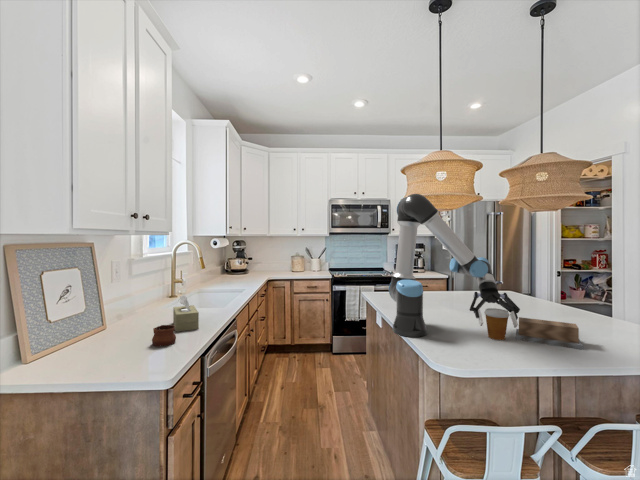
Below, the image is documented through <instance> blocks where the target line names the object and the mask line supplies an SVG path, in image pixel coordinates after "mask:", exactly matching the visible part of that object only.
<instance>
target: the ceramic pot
mask: <svg viewBox="0 0 640 480" xmlns="http://www.w3.org/2000/svg"><path fill="white" fill-rule="evenodd" d="M175 331H176V330H175V326H174V324H161V325H158V326H156V327H154V328H153V335H152V338H151V342H152V345H153V346H154V347H160V348H161V347H167V346H170V345H174V344H175V343H176V339H177V335H176V334H175Z"/></svg>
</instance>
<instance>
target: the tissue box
mask: <svg viewBox="0 0 640 480" xmlns="http://www.w3.org/2000/svg"><path fill="white" fill-rule="evenodd" d="M178 302H179V303H180V304H181V305H182V306H174V307H173V308H172V309H173V310H172V312H173V315H172V316H173V320H172V321H173V326H175V330H174V331H175V332H183V331H185V332H186V331H192V330H199V322H200V320H199V319H200V318H199V311H198V309H197V308H196V306H195V305H193V304H192V305H190V304H189V301H188V298H187V296H186V294H184V293H183V294H182V295H181V296H180V298H179V299H178Z"/></svg>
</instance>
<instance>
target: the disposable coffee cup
mask: <svg viewBox="0 0 640 480" xmlns="http://www.w3.org/2000/svg"><path fill="white" fill-rule="evenodd" d="M483 313H484V315H485V321H486V329H487V335H488V336H487V337H488V338H489V339H491V340H494V341H504V340H506V335H507V334H506V333H507V329H508V328H507V327H508V321H509V320H508V319H509V317H510V312H509V311H508V310H506V309H504V308H503V309H502V308H496V307H495V308H494V307H493V308H492V307H491V308H490V307H488V308H485V310H484V312H483Z"/></svg>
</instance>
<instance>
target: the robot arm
mask: <svg viewBox="0 0 640 480" xmlns="http://www.w3.org/2000/svg"><path fill="white" fill-rule="evenodd" d="M396 214H397V224H398V225H399V233H398V242H397V253H396V254H397V255H396V264H395V270H394V271H395V272H394V273H393V274H392V275H391V281H390V283H389V285H388V293H389V296H390V298H391V299H392V300H393V301H394V302H396V313H395V314H396V316H395V318H394V321H393V324H392V332H393V333H394V334H396V335H398V336H401V337H409V338H411V337H412V338H419V337H420V336H421V337H425V336H427V334H428V328H427V325H426V322H425V319H424V310H423V309H424V288H423V286H424V285H423V283H421V282H420V281H419V280H416V277H415V275H414V265H415V258H416V257H415V255H416V248H417V247H416V244H417V235H418V227H419V226H421V225H423V226H425V227H426V228H427V229H428V231H430V232H431V234H432V235H433V236H434V237H435V238H436V239H437V240H438V242H439V243H441V244H442V246H443V247H444V248H445V250H447V252H449V254H450V255H451V256H452V257H453V258H451V259H450V262H449V270H450V272H452V273H456V274H462V275H465V276H469V277H473V278H475V279H476V282H477V285H478V289H479V293H478V292H477V291H475V292H474V293H473V299H472V302H471V305H470V307H469V312H473V313H474V316H475V318H476V319H478V323H479V327H483V325H484V320H483V317H482V312H481V308H482V307H483V305H484V304H485V303H488V304H491V303H492V304H495V303H496V304H497V305H499V306H501V307H502V308H503V309H504V310H507V311H508V313H509V317H510V319H511V322H512V325H513V328H516V329H517V327H519V322H518V320H519V317H518V315H517V314H519V312H520V311H521V308H520V307H519V306H518V305H517V304H516V303H515V302H514V301H513V300H512V299H511V298H510V297H509V295H508V294H507V292H503V293H499V291H498V290H499V289H498V286H497V284H496V280H495V278H494V273H493V271H492V270H493V269H492V267H491V264H490V262H489V260H488V259H487V257H483V256H480V257H477V256H476V255H475V254H474V253H473V252H472V250H470V248H469V247H468V246H467V245H466V244H465V243H464V242H463V241H462V240H461V239H460V238H459V236H458V235H457V234H456V233H455V232H454V230H453V229H452V228H451V227H450V225H448V224H447V223H446V221H445V220H444V219H443V218H442V217H441V216H440V214H439V210H438V209H437V208H436V206H435V205H434V204H433V203H432V202H431V201H430V200H429V199H428V198H427V197H426V196H425V195H422V194H420V193H412V194H410V195H407V196H405V197H403V198H402V199H401V200H400V201H398V204H397V206H396ZM479 298H481V300H480V302H478V303H477V305H476V302H477V300H478V299H479ZM475 305H476V306H475Z"/></svg>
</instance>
